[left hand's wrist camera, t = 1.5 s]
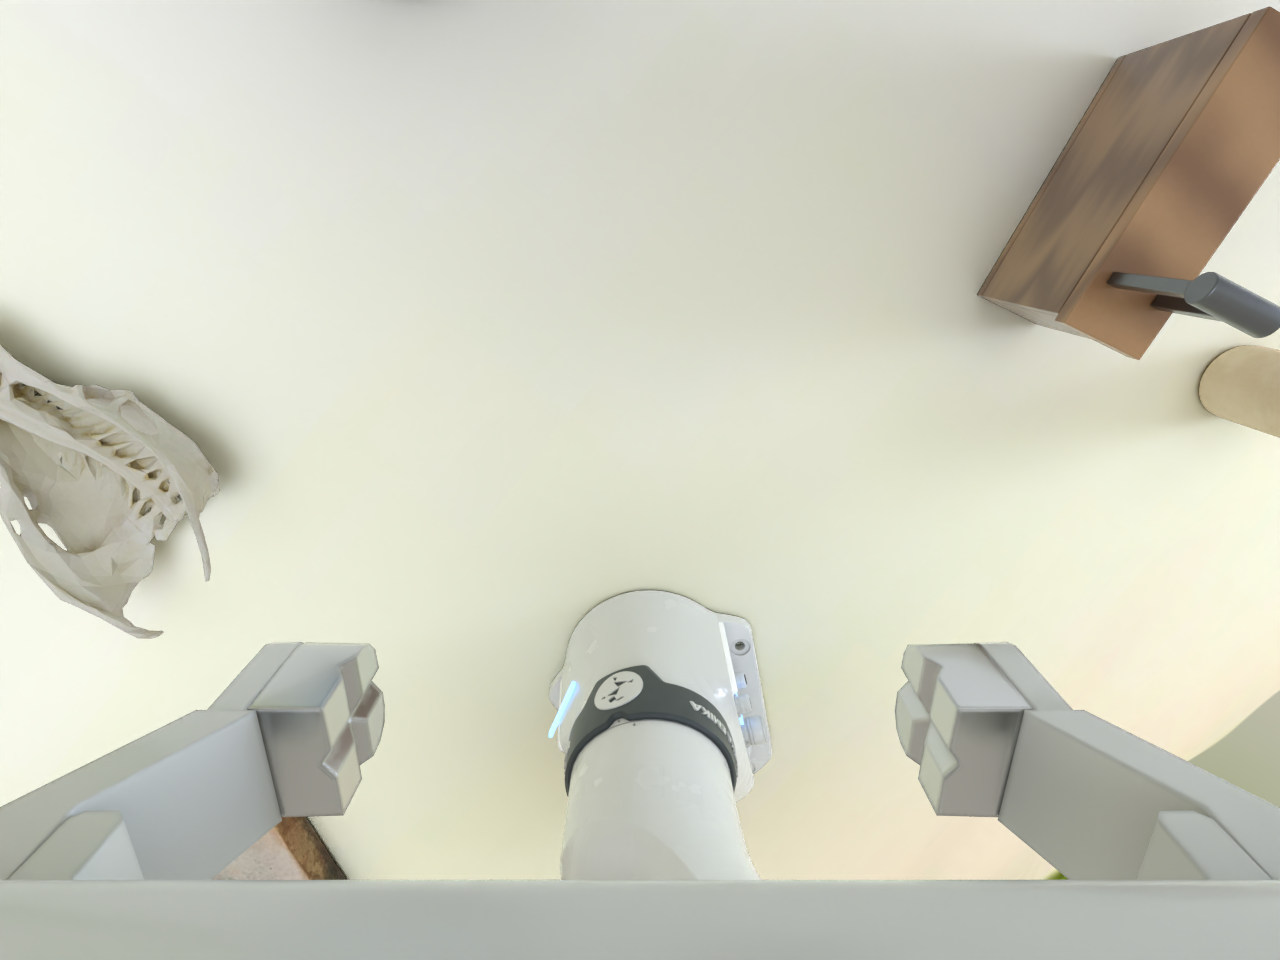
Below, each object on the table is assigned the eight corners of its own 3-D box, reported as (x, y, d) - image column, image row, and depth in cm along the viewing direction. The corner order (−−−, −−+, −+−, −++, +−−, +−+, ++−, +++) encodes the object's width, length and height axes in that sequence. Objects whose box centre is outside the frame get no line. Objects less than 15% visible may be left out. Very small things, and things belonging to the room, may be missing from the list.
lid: (1127, 357, 41) (1247, 390, 33) (1053, 320, 40) (1157, 346, 32) (1333, 60, 35) (1536, 13, 27) (1252, 11, 34) (1437, -52, 26)
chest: (1037, 324, 50) (1131, 349, 40) (976, 294, 49) (1057, 313, 40) (1183, 94, 45) (1332, 60, 35) (1118, 56, 44) (1251, 11, 34)
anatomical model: (127, 671, 50) (-231, 444, 43) (199, 604, 59) (-91, 405, 52) (244, 542, 47) (-127, 271, 40) (302, 490, 55) (5, 260, 48)
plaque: (249, 847, 58) (396, 1062, 68) (290, 783, 65) (418, 987, 75) (-49, 918, 62) (132, 1112, 72) (19, 850, 69) (175, 1037, 79)
